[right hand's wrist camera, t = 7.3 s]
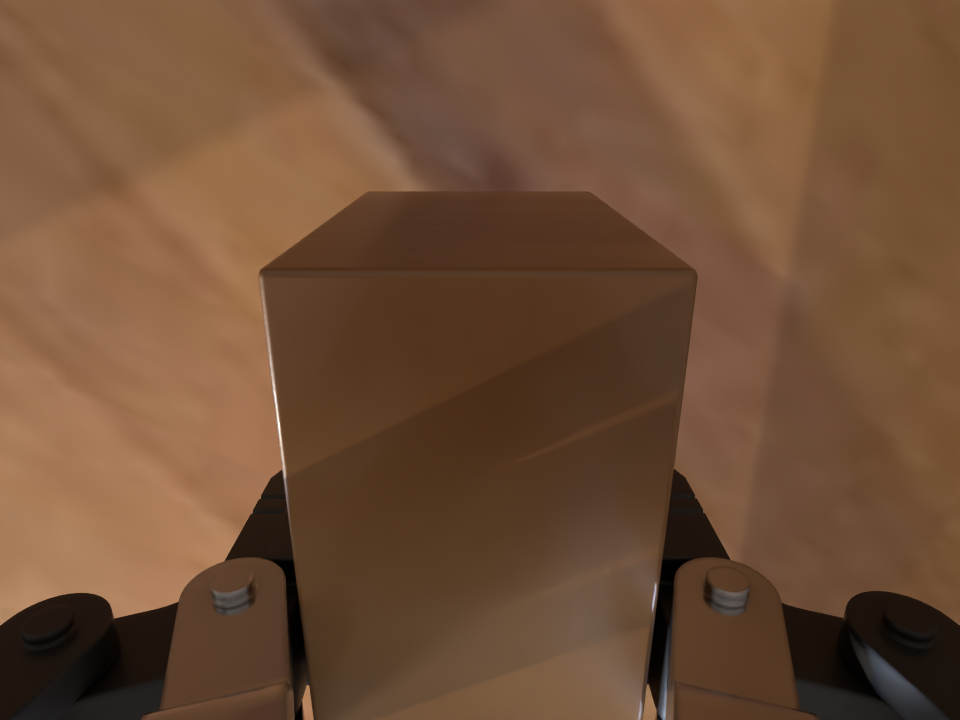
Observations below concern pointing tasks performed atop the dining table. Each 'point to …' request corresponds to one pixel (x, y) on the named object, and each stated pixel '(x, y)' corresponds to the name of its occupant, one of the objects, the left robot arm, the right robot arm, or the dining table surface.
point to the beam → (478, 451)
